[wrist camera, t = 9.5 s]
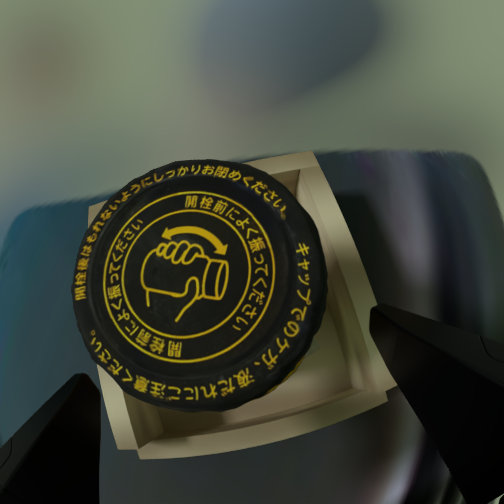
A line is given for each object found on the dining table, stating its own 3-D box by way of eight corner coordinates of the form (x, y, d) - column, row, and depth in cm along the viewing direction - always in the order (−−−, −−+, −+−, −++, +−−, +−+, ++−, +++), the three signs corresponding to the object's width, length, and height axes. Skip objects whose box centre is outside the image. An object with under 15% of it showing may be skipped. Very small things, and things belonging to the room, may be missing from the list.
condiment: (210, 407, 14) (109, 493, 3) (151, 284, 17) (26, 171, 6) (320, 348, 15) (449, 313, 4) (251, 233, 18) (242, 65, 7)
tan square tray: (367, 395, 15) (404, 405, 10) (157, 446, 14) (125, 469, 9) (301, 195, 20) (311, 150, 16) (121, 240, 19) (89, 206, 15)
